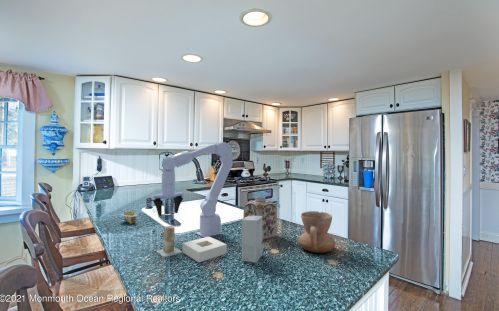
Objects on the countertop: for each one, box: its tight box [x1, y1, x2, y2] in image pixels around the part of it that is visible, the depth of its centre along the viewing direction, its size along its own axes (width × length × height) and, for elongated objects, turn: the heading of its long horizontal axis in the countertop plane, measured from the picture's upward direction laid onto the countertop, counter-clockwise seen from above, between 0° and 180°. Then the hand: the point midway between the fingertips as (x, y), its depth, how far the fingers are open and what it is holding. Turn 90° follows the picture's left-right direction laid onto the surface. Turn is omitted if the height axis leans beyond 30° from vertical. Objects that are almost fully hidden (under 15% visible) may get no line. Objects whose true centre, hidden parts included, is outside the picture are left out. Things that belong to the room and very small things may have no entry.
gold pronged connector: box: [121, 210, 139, 224], centre depth 133 cm, size 12×18×7 cm, turn 68°
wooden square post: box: [162, 225, 176, 253], centre depth 94 cm, size 3×3×9 cm
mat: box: [155, 246, 183, 258], centre depth 94 cm, size 7×7×1 cm
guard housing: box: [181, 236, 227, 263], centre depth 94 cm, size 12×12×4 cm
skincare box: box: [241, 215, 264, 264], centre depth 90 cm, size 8×6×15 cm
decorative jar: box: [242, 196, 278, 241], centre depth 116 cm, size 12×12×18 cm
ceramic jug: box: [297, 210, 336, 254], centre depth 99 cm, size 18×14×14 cm
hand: (167, 214), depth 111 cm, fingers open, 7 cm apart
